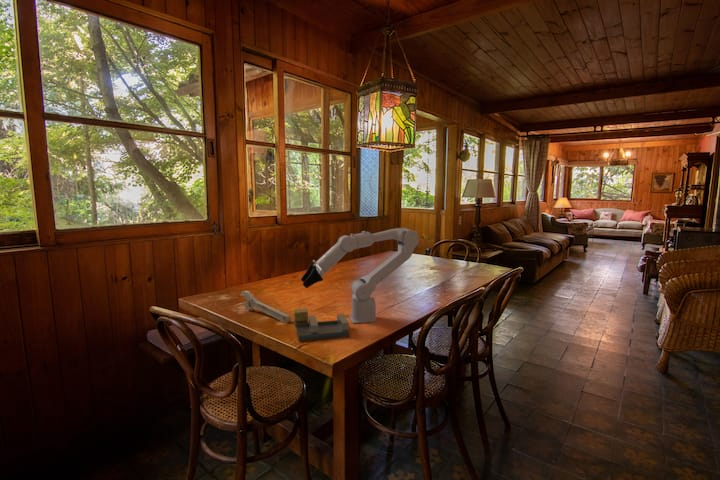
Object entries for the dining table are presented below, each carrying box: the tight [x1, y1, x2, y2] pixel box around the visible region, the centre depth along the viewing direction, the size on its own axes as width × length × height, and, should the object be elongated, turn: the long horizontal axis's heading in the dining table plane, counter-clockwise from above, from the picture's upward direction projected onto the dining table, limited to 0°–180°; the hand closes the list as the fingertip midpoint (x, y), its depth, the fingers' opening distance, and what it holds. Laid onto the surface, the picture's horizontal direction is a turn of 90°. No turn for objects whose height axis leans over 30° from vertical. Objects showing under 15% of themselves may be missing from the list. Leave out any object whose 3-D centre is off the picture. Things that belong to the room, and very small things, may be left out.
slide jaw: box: [308, 315, 318, 334], centre depth 135 cm, size 2×10×4 cm, turn 13°
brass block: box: [293, 307, 309, 329], centre depth 143 cm, size 5×4×6 cm
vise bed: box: [295, 313, 350, 343], centre depth 136 cm, size 18×12×5 cm, turn 103°
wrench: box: [239, 290, 291, 324], centre depth 154 cm, size 8×2×30 cm
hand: (303, 283), depth 142 cm, fingers open, 7 cm apart
